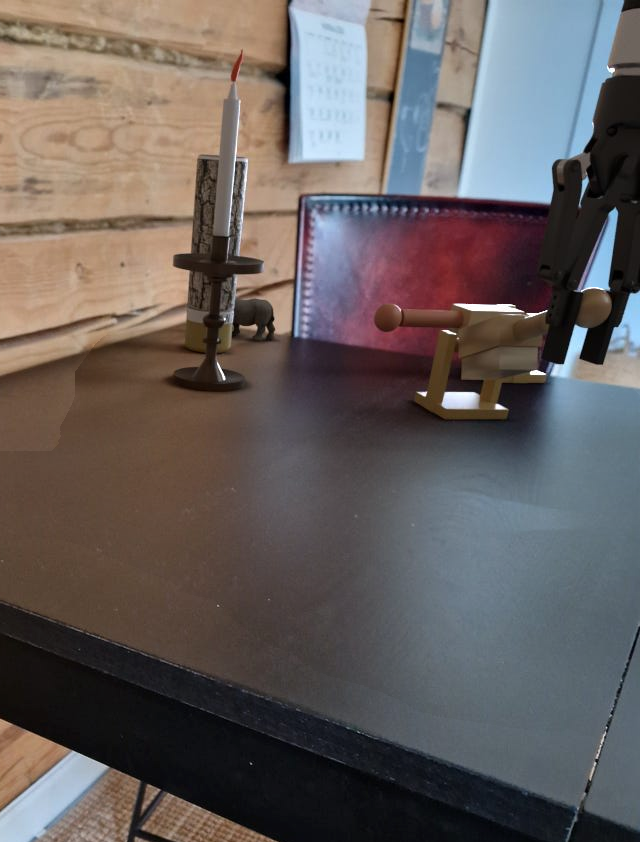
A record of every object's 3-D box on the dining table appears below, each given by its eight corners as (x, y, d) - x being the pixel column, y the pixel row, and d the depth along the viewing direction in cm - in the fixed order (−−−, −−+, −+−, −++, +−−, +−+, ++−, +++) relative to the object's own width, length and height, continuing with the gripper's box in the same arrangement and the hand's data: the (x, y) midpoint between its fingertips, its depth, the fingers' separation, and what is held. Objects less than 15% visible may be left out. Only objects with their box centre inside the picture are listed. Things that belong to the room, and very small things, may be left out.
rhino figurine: (196, 328, 141) (199, 289, 138) (276, 339, 137) (281, 299, 134) (187, 332, 138) (190, 292, 135) (269, 343, 133) (274, 302, 130)
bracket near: (507, 419, 101) (527, 340, 96) (444, 419, 99) (462, 338, 95) (472, 401, 108) (490, 326, 103) (412, 401, 106) (428, 325, 101)
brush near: (626, 349, 80) (630, 284, 79) (575, 348, 79) (579, 282, 78) (489, 382, 102) (491, 331, 101) (448, 382, 101) (449, 330, 100)
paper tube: (181, 351, 124) (194, 154, 112) (187, 343, 130) (200, 154, 117) (227, 356, 123) (246, 157, 111) (232, 347, 129) (250, 157, 117)
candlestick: (266, 383, 110) (305, 55, 92) (221, 397, 102) (254, 42, 85) (196, 368, 115) (220, 55, 98) (148, 380, 107) (165, 43, 90)
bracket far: (494, 382, 118) (511, 314, 113) (464, 369, 125) (479, 303, 120) (545, 383, 119) (564, 315, 115) (513, 369, 126) (529, 305, 122)
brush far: (378, 352, 114) (386, 306, 111) (362, 344, 118) (369, 299, 115) (526, 355, 118) (537, 310, 115) (504, 346, 123) (515, 304, 120)
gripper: (702, 86, 77) (619, 354, 89) (538, 71, 74) (475, 352, 85) (770, 81, 71) (671, 370, 82) (594, 64, 67) (517, 369, 79)
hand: (571, 361), depth 84 cm, fingers closed on brush near, 4 cm apart
